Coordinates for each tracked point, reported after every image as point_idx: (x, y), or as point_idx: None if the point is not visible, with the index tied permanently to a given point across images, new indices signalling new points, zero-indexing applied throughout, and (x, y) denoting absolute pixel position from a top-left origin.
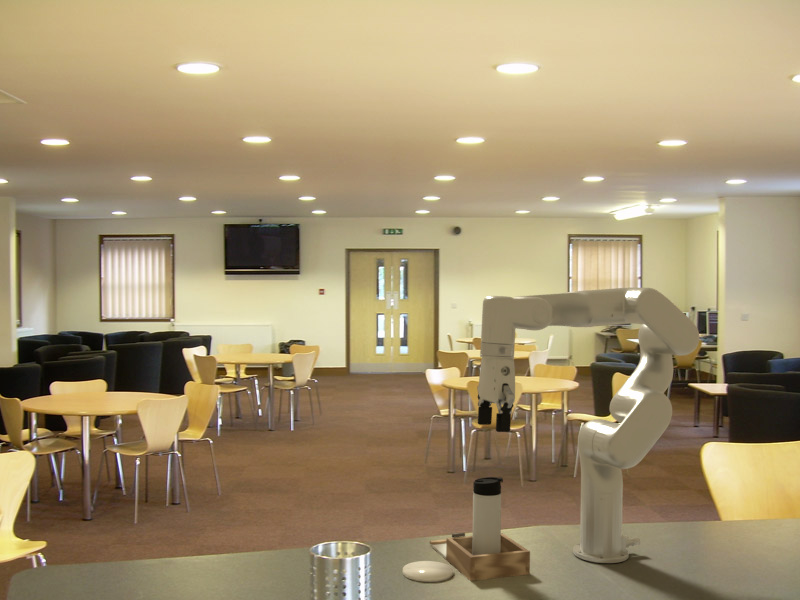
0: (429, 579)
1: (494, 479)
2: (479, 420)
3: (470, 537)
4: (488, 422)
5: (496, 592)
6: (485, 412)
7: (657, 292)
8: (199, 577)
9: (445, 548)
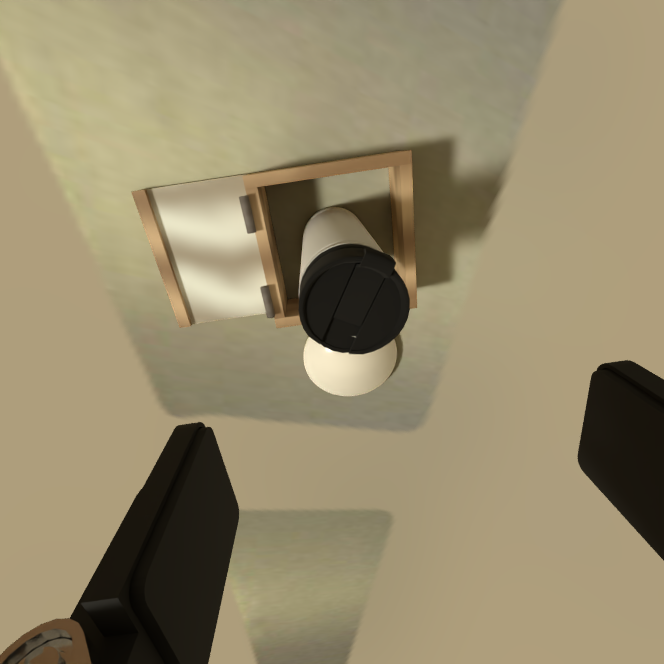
0: (395, 361)
1: (325, 271)
2: (233, 542)
3: (275, 273)
4: (213, 457)
5: (474, 257)
6: (195, 584)
7: None
8: (318, 594)
9: (221, 301)
